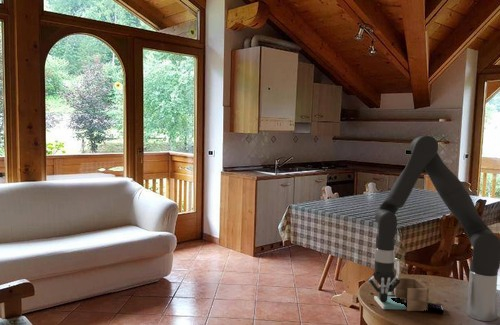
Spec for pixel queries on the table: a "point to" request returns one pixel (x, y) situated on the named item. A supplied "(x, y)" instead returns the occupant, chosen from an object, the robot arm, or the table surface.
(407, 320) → the table surface
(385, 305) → the teal panel
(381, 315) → the table surface
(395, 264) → the beer glass
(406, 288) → the crate
